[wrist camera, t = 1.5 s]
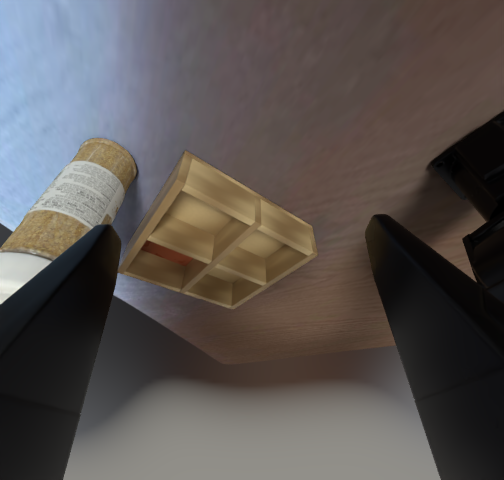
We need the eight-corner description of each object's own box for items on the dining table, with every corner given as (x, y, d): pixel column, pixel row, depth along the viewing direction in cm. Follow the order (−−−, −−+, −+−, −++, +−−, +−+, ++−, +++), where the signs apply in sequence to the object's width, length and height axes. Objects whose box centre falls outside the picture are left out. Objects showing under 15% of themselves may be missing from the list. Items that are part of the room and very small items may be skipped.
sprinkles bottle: (119, 190, 24) (45, 331, 16) (69, 155, 22) (-53, 303, 13) (149, 165, 22) (84, 311, 14) (99, 123, 20) (-24, 273, 11)
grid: (312, 226, 28) (318, 255, 26) (234, 283, 37) (233, 309, 35) (185, 149, 21) (176, 179, 19) (127, 243, 30) (116, 272, 28)
